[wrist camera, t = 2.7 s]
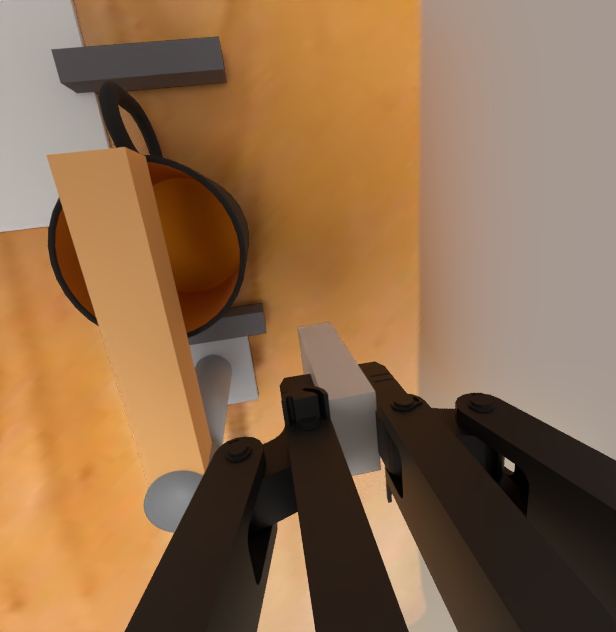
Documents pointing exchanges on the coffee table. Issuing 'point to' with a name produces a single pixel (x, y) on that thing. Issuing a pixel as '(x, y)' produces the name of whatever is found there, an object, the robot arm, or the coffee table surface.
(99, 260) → the wooden bar
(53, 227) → the mug
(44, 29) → the mat
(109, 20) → the coffee table surface
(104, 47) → the dock
